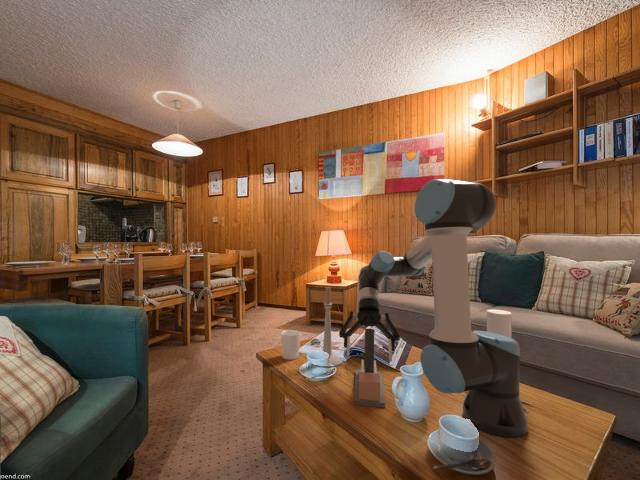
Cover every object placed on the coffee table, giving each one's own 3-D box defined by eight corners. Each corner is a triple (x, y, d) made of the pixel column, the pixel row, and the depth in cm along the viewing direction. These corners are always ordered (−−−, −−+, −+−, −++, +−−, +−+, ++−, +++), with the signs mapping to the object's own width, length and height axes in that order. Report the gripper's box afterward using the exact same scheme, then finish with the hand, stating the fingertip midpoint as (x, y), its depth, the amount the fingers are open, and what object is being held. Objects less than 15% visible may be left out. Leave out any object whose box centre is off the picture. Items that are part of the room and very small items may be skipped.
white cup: (281, 353, 128) (281, 329, 128) (299, 352, 129) (299, 329, 129) (280, 360, 121) (280, 335, 121) (300, 360, 121) (300, 335, 121)
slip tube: (364, 376, 103) (364, 326, 103) (373, 376, 102) (373, 326, 102) (364, 393, 91) (364, 337, 91) (374, 394, 90) (375, 337, 90)
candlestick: (324, 370, 112) (325, 289, 112) (305, 359, 123) (306, 285, 123) (349, 362, 120) (350, 286, 120) (329, 352, 130) (330, 283, 130)
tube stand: (355, 373, 110) (356, 355, 110) (381, 375, 109) (381, 357, 109) (353, 404, 89) (354, 382, 89) (385, 407, 87) (385, 384, 87)
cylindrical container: (504, 381, 104) (504, 309, 105) (515, 392, 97) (516, 314, 98) (482, 380, 105) (483, 309, 105) (492, 390, 98) (493, 313, 98)
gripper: (402, 309, 113) (407, 366, 98) (336, 306, 117) (331, 360, 102) (404, 298, 108) (410, 355, 93) (334, 295, 111) (329, 350, 96)
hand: (369, 358), depth 97 cm, fingers open, 13 cm apart
